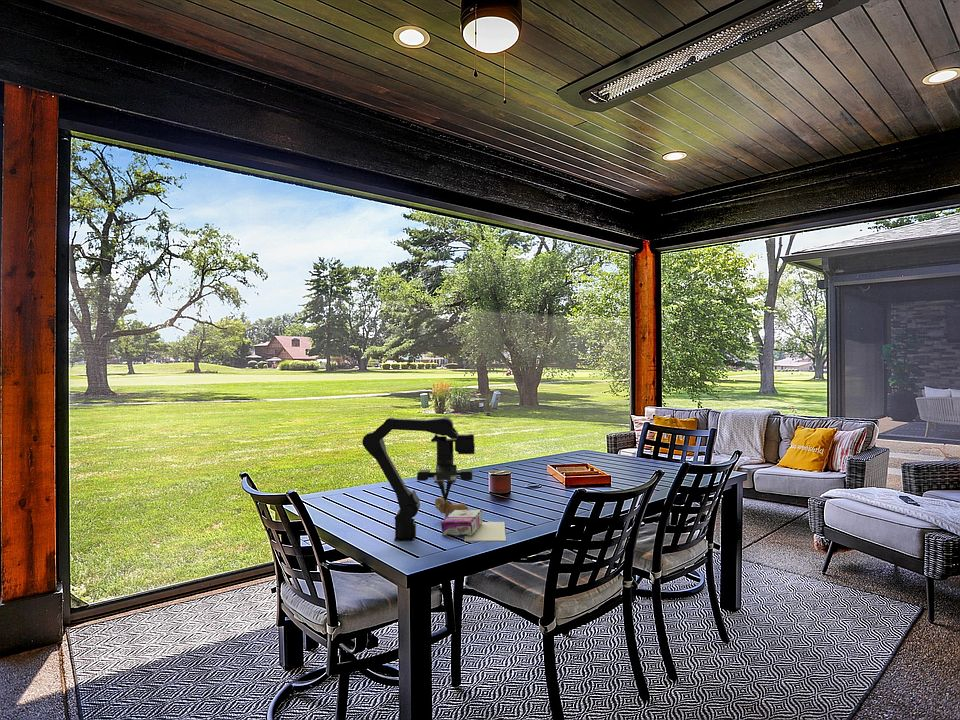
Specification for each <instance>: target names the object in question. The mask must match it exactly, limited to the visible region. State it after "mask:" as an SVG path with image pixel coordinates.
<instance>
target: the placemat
mask: <svg viewBox="0 0 960 720" xmlns="http://www.w3.org/2000/svg"><path fill="white" fill-rule="evenodd" d="M505 525H506V524H505V521H483V522H482V524H481V525H480V526H479V528H478V529H477V530H476V531H475V533H474V534H473V535H472V536H469V535H464V542H506V541H507V538H506V526H505Z"/></svg>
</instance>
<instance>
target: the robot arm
mask: <svg viewBox="0 0 960 720" xmlns="http://www.w3.org/2000/svg"><path fill="white" fill-rule="evenodd" d="M393 430H395V431H397V430H398V431H413V432H414V431H415V432H418V431H419V432H427V433H431V434H434V436H433V437H432V438H431V440H430V442H431V443H434V442H435V443H436V465H435V471H431V469H419V471H418V472H417V474H416V481H419V482H420V481H421V482H423V481H424V482H426V481H427V480H428V479H430V478H431V479H434V481H433V483H434V484H437V485H438V487H439V490H440V491H441V492H440V493H441V495H442V498H444V500H448V497H449V493H450V489H451V487H452V485H453V484H454V483H457V478H460V479H461V480H462V481H473V477H474V475H473V474H474V473H473V470H472V469H471V468H462V469H460V471H457V470H458V465H457V464H454V452H456V453H457V454H458V455H475V454H476V448H475V446H476V443H475V434H474V433H469V434H459V432H458V431H457V430H456V428H455V427H454V422H453V420H452V419H451V418H450V417H447V416H445V417H437V418H436V417H435V418H431V419H430V418H429V419H417V418H416V419H415V418H399V417H398V418H395V417H388V418H387V419H385V420H384V422H383V423H382V424H381V425H380V426H379V427H378V428H376V429H375V430H373V431H372V430H371V431H369V432H368V433H367V434H365V435H364V436H363V438H362V441H361V443H362V446H363V447H364V449H365V450H366V451H367V452H368V454H369V455H370V456H371V457H373V458H374V459H375V461H376V462H377V463H378V465H379V468H380V469H381V470H382V472H383V474H384V477H385V478H386V480H387V482H388V483H389V484H390V486H391V488H392V490H393V492H394V493H395V495H396V499H397V503H398V507H399V509H398V511H397V513H396V515H395V516H394V532H395V533H394V539H393V540H394V541H395V542H396V541H401V542H403V541H405V542H407V541H408V542H409V541H414V540H415V538H416V536H417V523H415V518H414V517H416V516H417V514H418V513H419V510H420V507H421V502H420V501H421V498H419V497H418V495H417V492H416V490H415V489H413V490H412V491H411V490H410V489H409V488H408V487H407V485H406V483H405V482H404V480H403V479H402V477H401V475H400V474H399V471H398V470H397V468H396V467H395V464H394V463H393V461H392V459H391V458H390V456H389V454H388V452H387V447H386V443H385V441H384V438H385V437H387V435H388V434H389V433H390V432H392V431H393ZM445 481H446V485H445Z"/></svg>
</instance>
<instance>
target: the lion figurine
mask: <svg viewBox="0 0 960 720" xmlns="http://www.w3.org/2000/svg"><path fill="white" fill-rule="evenodd" d="M434 508H435V509H436V510H437V511H439V512H440V514H443V515H444V516H445V518H446V517H448V516H449V515H450V514H451V513H452V512H453V511H454V510H469V508H468V506H467V505H466V504H465V503H452V501H450V500H449V499H447V500H444V498H443V497H440V496H439V497H437V498H436V499H435V503H434ZM445 518H444V519H445ZM444 519H443V520H444Z"/></svg>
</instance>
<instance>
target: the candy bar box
mask: <svg viewBox="0 0 960 720" xmlns="http://www.w3.org/2000/svg"><path fill="white" fill-rule="evenodd" d="M482 522H484V521H483V509H468V510H454V511H453V512H452V513H449V515H448V517H445V519H443V520H442V521H441V524H440V525H441V535H442V536H465V535H469V536H472V535H473V534H474V533H475V531H476V530H477V529H478V528H479V526H480V525H481V524H482Z"/></svg>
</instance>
